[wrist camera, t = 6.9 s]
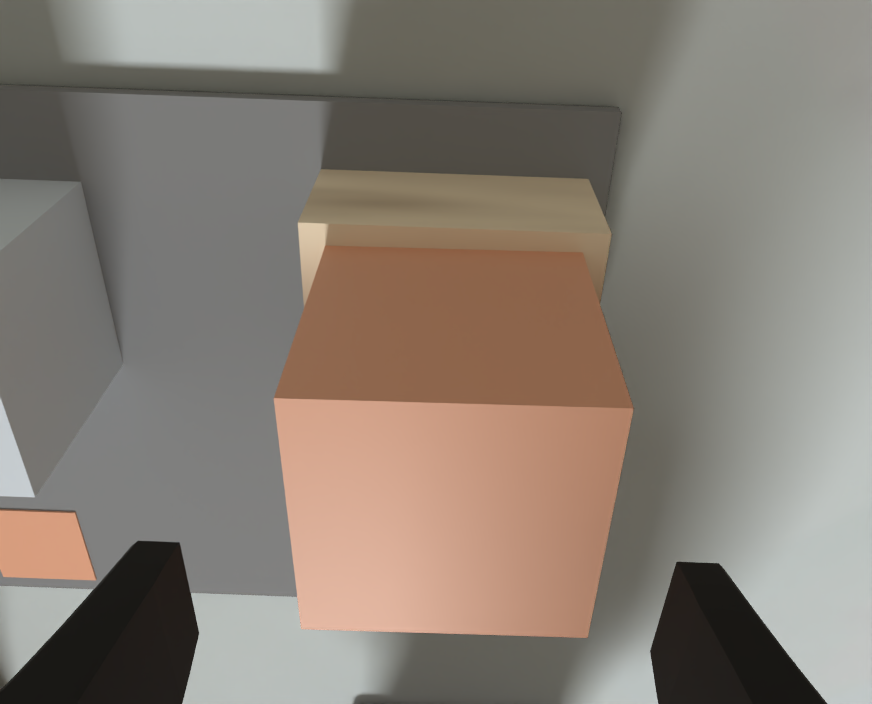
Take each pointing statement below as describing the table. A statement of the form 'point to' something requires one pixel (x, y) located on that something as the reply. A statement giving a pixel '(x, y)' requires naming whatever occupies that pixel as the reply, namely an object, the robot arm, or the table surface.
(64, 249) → the blue-grey cube
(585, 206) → the maple block
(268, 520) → the grey square mat
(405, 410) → the terracotta cube
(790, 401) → the table surface
